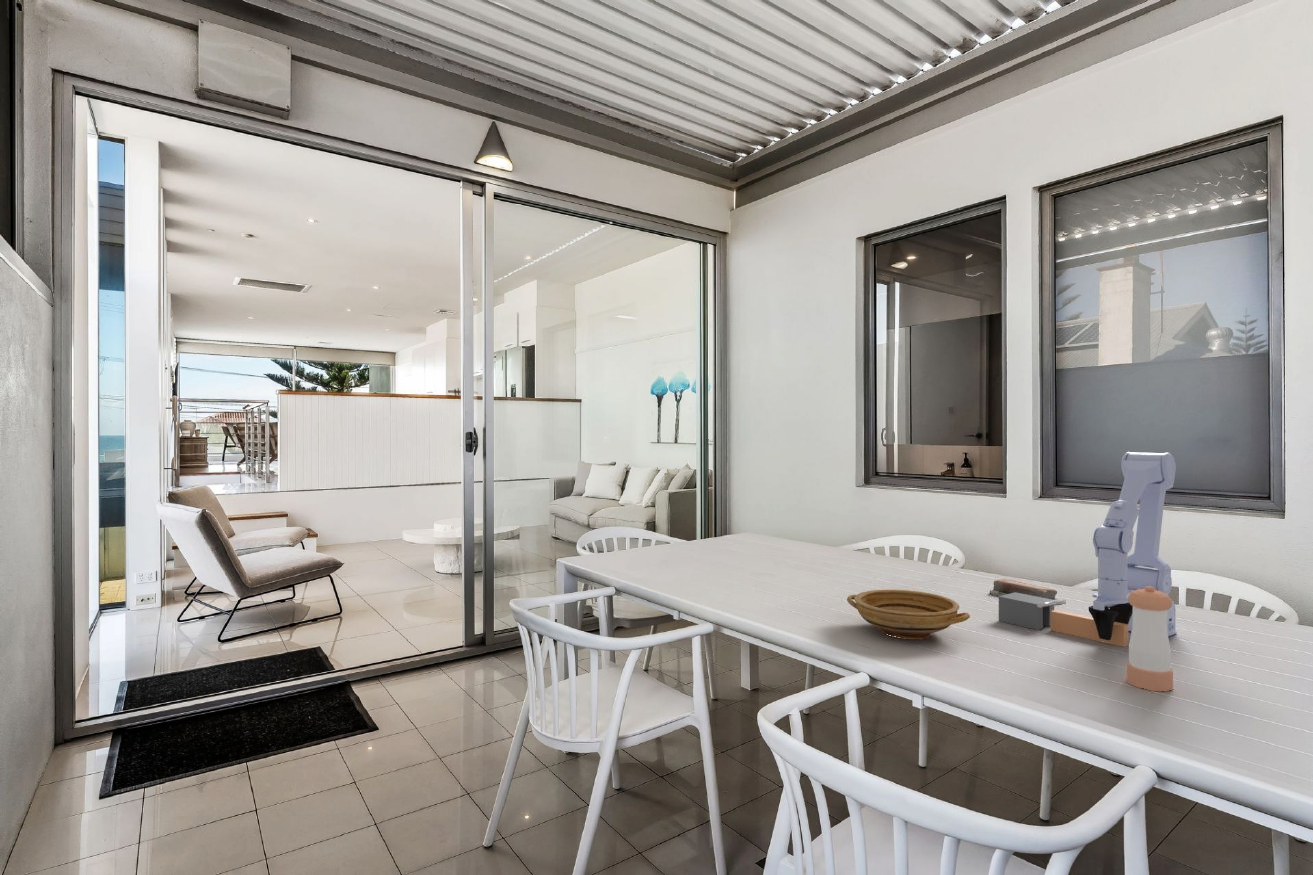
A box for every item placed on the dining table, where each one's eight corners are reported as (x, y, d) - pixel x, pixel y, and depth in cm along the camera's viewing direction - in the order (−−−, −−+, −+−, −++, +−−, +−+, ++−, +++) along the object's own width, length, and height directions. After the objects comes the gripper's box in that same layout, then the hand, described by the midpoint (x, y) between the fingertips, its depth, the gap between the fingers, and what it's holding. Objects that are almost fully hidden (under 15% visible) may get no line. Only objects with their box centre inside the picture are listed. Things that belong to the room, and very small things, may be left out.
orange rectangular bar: (1128, 646, 157) (1128, 624, 157) (1123, 647, 155) (1123, 626, 155) (1055, 629, 170) (1055, 609, 170) (1050, 631, 168) (1050, 611, 168)
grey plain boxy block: (1057, 625, 172) (1057, 600, 172) (1040, 631, 168) (1040, 605, 168) (1015, 616, 181) (1015, 592, 181) (998, 621, 177) (998, 596, 177)
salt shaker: (1153, 693, 128) (1154, 592, 127) (1117, 680, 135) (1117, 583, 134) (1182, 689, 130) (1182, 589, 129) (1145, 676, 137) (1145, 581, 136)
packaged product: (987, 579, 206) (1009, 576, 211) (987, 595, 206) (1009, 591, 211) (1045, 591, 190) (1066, 588, 195) (1045, 609, 190) (1066, 605, 195)
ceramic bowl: (983, 633, 166) (983, 600, 166) (953, 658, 148) (953, 621, 148) (867, 612, 185) (867, 583, 185) (827, 632, 167) (827, 600, 167)
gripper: (1108, 571, 165) (1107, 627, 166) (1079, 579, 157) (1078, 637, 157) (1141, 576, 160) (1141, 634, 160) (1112, 584, 151) (1112, 645, 152)
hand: (1112, 636), depth 158 cm, fingers open, 7 cm apart
